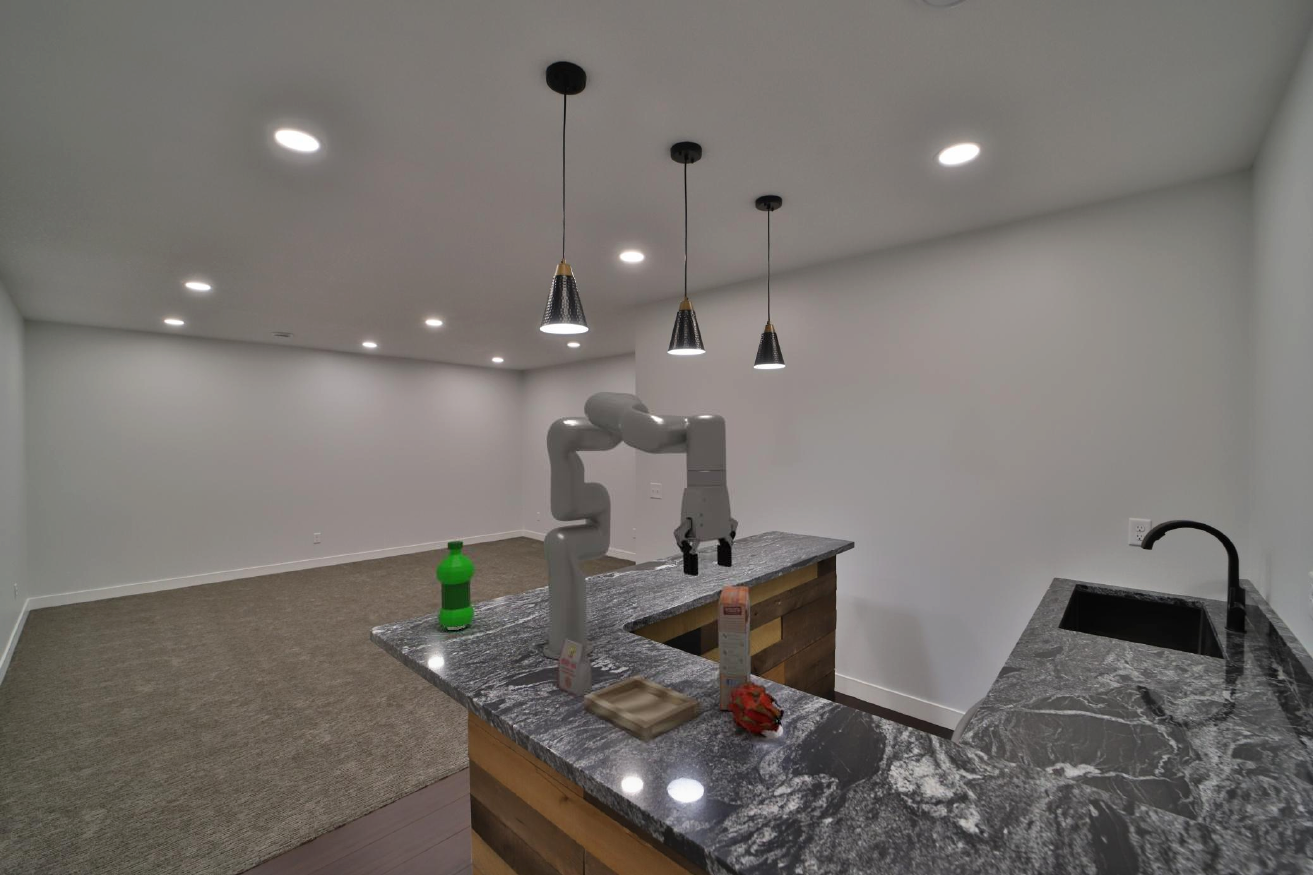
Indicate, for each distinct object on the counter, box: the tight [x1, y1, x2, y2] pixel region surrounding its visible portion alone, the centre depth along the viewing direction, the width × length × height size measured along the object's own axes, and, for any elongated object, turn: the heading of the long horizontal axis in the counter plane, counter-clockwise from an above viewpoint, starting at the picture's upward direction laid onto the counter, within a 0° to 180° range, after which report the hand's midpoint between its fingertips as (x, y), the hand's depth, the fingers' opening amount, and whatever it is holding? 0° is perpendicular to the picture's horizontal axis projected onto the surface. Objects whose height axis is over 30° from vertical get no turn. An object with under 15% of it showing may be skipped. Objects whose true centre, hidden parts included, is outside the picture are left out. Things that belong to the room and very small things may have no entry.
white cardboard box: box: [557, 639, 593, 698], centre depth 119 cm, size 4×7×10 cm, turn 44°
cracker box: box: [717, 585, 752, 712], centre depth 114 cm, size 14×6×21 cm, turn 168°
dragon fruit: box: [726, 680, 785, 739], centre depth 100 cm, size 8×8×12 cm
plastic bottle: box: [435, 540, 476, 628], centre depth 163 cm, size 10×10×25 cm
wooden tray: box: [583, 675, 701, 743], centre depth 108 cm, size 18×14×2 cm
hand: (708, 570), depth 105 cm, fingers open, 9 cm apart
